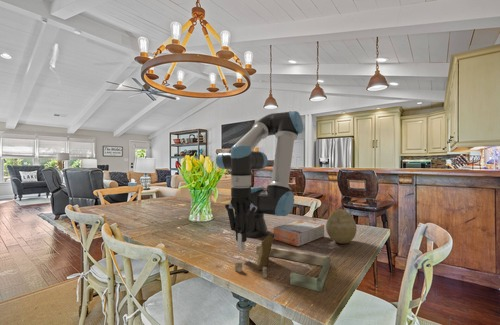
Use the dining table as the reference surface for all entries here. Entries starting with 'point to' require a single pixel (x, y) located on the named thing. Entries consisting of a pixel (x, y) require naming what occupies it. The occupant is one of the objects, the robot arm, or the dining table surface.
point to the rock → (264, 252)
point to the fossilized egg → (341, 226)
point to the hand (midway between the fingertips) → (241, 249)
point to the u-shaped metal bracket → (302, 257)
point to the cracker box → (298, 232)
